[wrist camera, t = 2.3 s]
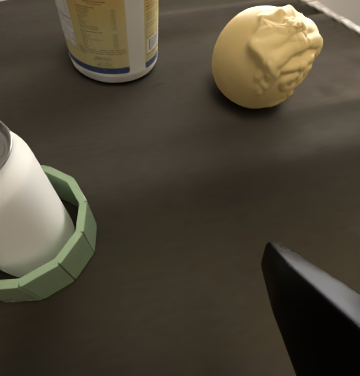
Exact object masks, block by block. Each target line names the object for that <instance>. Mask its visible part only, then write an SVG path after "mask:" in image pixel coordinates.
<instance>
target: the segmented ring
mask: <svg viewBox="0 0 360 376" xmlns="http://www.w3.org/2000/svg"><path fill="white" fill-rule="evenodd" d="M40 166H41V168H42V169H43V171H44V173H45V174H46V176H47V178H48V180H49V181H50V183H51V185H52V186H53V188H54V190H55V191H56V193H57V195H58V197H59V198H60V199H62V200H65V201H67V202H69V203H71V204H73V205H75V206H77V207H79V208H78V216H77V223H76V231H75V232H74V234H73V235H72V236H71V238H70V239H69V240H68V242H67V243H66V244H65V246H64V247H63V248H62V250H61V251H60V252H59V254H58V255H57V256H56V258H55V259H54V260H52V261H50V262H48V263H46V264H45V265H43V266H41V267H39V268H37V269H35V270H34V271H32V272H30V273H28V274H26V275H25V276H23V277H21V278H19V279H6V280H0V300H1V301H4V302H8V303H11V302H24V301H37V300H42V299H46V298H47V297H49V296H51V295H52V294H54V293H56V292H57V291H59V290H61V289H62V288H64V287H66V286H67V285H69V284H71V283H72V282H74V281H75V280H74V279H77V278H78V276H79V275H80V273H81V272H82V270H83V269H84V267H85V266H86V264H87V263H88V261H89V260H90V258H91V257H92V256H93V254H94V253H93V252H94V251H95V242H96V230H97V225H96V221H95V219H94V217H93V214H92V212H91V209H90V207H89V205H88V202H87V200H86V198H85V197H84V195H83V193H82V191H81V190H80V188H79V186H78V185H77V183H76V181H75V179H74V178H72V177H71V176H69V175H66V174H64V173H62V172H60V171H58V170H56V169H54V168H52V167H49V166H46V165H40Z"/></svg>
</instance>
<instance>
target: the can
mask: <svg viewBox="0 0 360 376" xmlns="http://www.w3.org/2000/svg"><path fill="white" fill-rule="evenodd" d="M74 232H75V228H74V224H73V222H72V220H71V218H70V216H69V214H68V212H67V210H66V209H65V207H64V205H63V204H62V202H61V200H60V198H59V197H58V195H57V193H56V191H55V190H54V188H53V186H52V185H51V183H50V181H49V180H48V178H47V176H46V174H45V173H44V171H43V169H42V168H41V166H40V164H39V163H38V161H37V159H36V158H35V156H34V154H33V153H32V151H31V150H30V148H29V147H28V145H27V144H26V143H25V142H24V140H22V139H21V138H20V137H19V136H17V135H16V134H14V133H13V132H11V131H10V130H9V129H8V127H7V126H6V125H5V124H4V123H3V122H2V121H0V270H2V271H4V272H5V273H8V274H10V275H12V276H16V277H23V276H25V275H26V274H28V273H30V272H32V271H34V270H35V269H37V268H39V267H41V266H43V265H45V264H46V263H48V262H50V261H52V260H54V259H55V258H56V256H57V255H58V254H59V252H60V251H61V250H62V248H63V247H64V246H65V244H66V243H67V242H68V240H69V239H70V238H71V236H72V235H73V234H74Z"/></svg>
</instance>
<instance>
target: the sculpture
mask: <svg viewBox="0 0 360 376" xmlns="http://www.w3.org/2000/svg"><path fill="white" fill-rule="evenodd" d="M322 46H323V38H322V37H321V36H320V34H319V32H318V29H317V27H316V25H315V23H314V22H313V21H312V20H310V19H308V18H306V17H304V16H303V14H302V13H298V12H297V11H296V10H295V9H294V8H293V7H292V6H291V5H286V6H284V7H273V6H257V7H253V8H249V9H247V10H245V11H243V12H241V13H239V14H238V15H237V16H235V17H234V18H233V19H232V20H231V21H230V22H229V23H228V24H227V25H226V26H225V28H224V29H223V31H222V32H221V34H220V36H219V37H218V39H217V42H216V44H215V47H214V51H213V56H212V71H213V76H214V80H215V82H216V85H217V86H218V88H219V89H220V91H221V92H222V93H223V94H224V95H225V96H226V97H227V98H228V99H230V100H231V101H232V102H234V103H236V104H238V105H240V106H243V107H246V108H253V109H256V108H264V107H273V106H275V105H277V104H279V103H281V102H283V101H284V100H286V99H287V98H288V97H290V96H292V95H293V93H294V88H295V87H297V86H298V85H299V84H300V83H301V82H302V81H303V80H304V79H305V77H306V76H307V74H308V72H309V71H310V69H311V67H312V63H313V61H314V60H315V58H316V57H317V56H318V55H319V53H320V51H321V49H322Z"/></svg>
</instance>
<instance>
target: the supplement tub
mask: <svg viewBox="0 0 360 376" xmlns="http://www.w3.org/2000/svg"><path fill="white" fill-rule="evenodd" d="M55 3H56V6H57V10H58V13H59V17H60V21H61V24H62V28H63V32H64V36H65V39H66V43H67V46H68V50H69V55H70V58H71V60H72V62H73V64H74V66H75V67H76V68H77V69H78V70H79V71H80V72H81V73H83V74H84V75H86V76H88V77H90V78H92V79H95V80H98V81H102V82H110V83H119V82H127V81H131V80H135V79H138V78H140V77H142V76H144V75H145V74H147V73H148V72H149V71H150V70H151V69H152V68H153V66H154V65H155V62H156V60H157V55H158V0H55Z"/></svg>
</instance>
